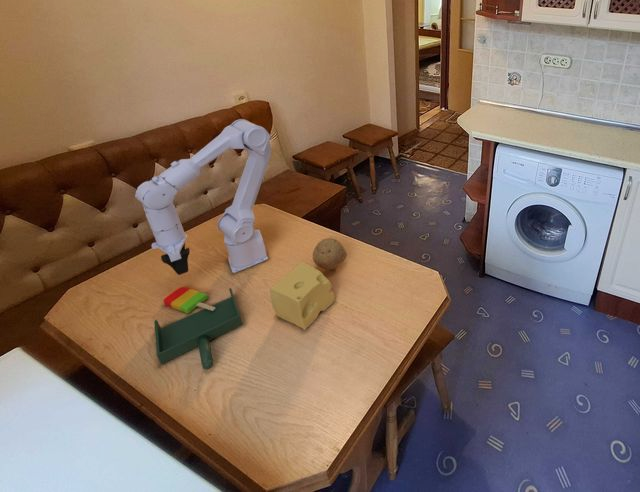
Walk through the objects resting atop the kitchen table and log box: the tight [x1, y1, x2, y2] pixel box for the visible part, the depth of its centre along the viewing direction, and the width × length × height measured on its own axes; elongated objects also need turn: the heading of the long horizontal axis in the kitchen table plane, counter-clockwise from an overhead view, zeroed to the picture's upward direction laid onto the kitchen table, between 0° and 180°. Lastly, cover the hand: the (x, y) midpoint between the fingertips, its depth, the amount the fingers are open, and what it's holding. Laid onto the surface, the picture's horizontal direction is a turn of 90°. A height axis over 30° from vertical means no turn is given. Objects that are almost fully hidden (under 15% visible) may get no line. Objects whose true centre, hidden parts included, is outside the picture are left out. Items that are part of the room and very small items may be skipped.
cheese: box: [270, 261, 336, 331], centre depth 92 cm, size 10×11×10 cm
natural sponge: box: [312, 237, 347, 271], centre depth 106 cm, size 9×9×10 cm
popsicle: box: [163, 286, 216, 314], centre depth 93 cm, size 6×15×2 cm, turn 72°
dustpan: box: [154, 287, 244, 371], centre depth 84 cm, size 20×16×3 cm
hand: (182, 266), depth 95 cm, fingers open, 5 cm apart
